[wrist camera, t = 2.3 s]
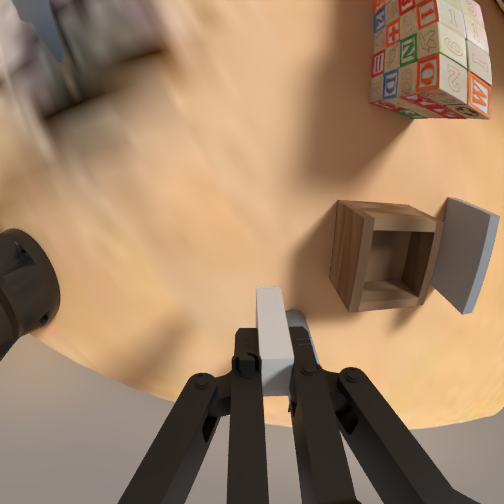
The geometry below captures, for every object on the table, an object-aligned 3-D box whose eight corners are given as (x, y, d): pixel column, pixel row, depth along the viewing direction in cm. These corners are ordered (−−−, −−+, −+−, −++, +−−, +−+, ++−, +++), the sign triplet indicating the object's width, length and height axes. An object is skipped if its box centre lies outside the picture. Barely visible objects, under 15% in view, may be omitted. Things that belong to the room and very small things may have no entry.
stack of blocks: (370, -33, 16) (413, -78, 4) (412, -14, 16) (463, -47, 5) (367, 104, 24) (440, 88, 12) (415, 120, 24) (493, 121, 13)
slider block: (329, 278, 31) (348, 312, 24) (337, 200, 27) (364, 218, 21) (395, 275, 31) (423, 304, 24) (407, 204, 27) (443, 222, 21)
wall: (429, 283, 32) (462, 314, 24) (447, 197, 27) (490, 214, 20) (439, 282, 32) (472, 312, 24) (457, 198, 27) (499, 216, 20)
